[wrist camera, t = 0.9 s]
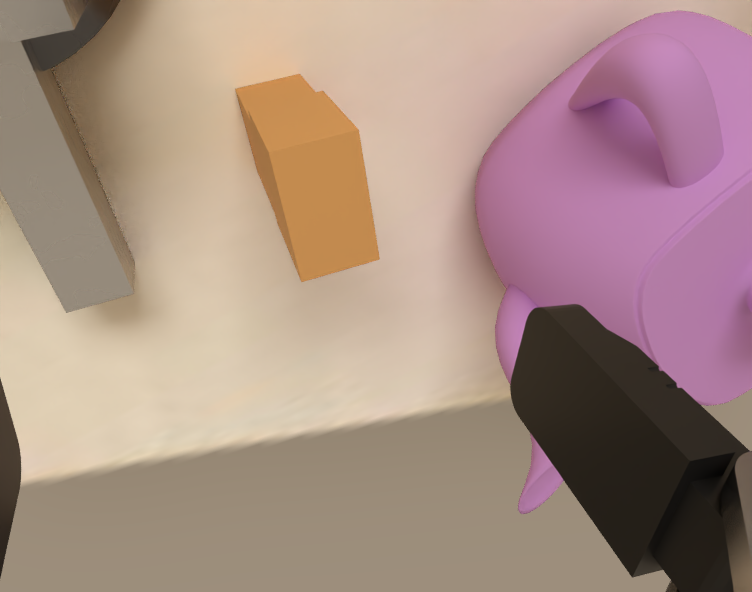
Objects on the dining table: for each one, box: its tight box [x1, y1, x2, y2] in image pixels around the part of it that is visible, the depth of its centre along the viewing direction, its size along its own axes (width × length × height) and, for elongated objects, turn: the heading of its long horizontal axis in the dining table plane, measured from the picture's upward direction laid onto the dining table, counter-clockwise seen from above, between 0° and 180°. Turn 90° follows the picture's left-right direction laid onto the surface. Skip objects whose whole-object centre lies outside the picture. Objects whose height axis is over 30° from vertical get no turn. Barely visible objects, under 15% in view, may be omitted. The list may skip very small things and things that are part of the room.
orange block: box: [235, 74, 380, 282], centre depth 25 cm, size 3×5×10 cm, turn 9°
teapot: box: [475, 11, 752, 514], centre depth 30 cm, size 23×21×15 cm
